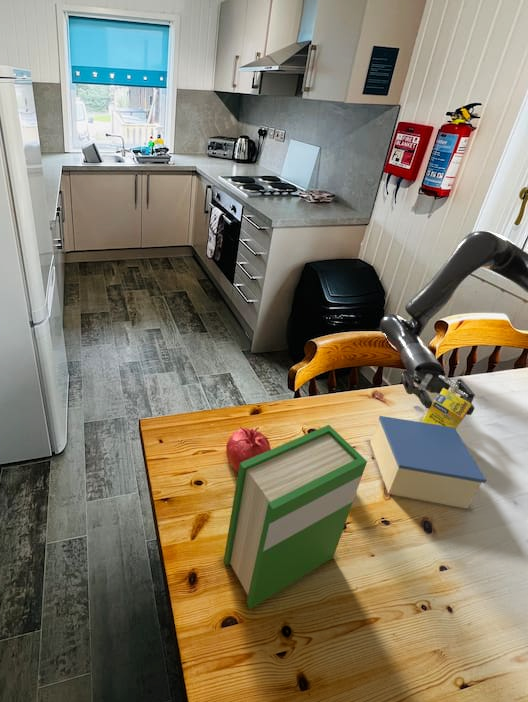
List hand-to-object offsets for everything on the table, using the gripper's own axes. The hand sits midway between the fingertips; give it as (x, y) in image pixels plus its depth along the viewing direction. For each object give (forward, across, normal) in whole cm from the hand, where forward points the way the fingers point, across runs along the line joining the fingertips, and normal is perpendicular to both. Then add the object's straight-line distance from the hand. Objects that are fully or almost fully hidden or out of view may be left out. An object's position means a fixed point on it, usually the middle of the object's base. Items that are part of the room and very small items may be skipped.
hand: (450, 408), depth 89 cm
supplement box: (-2, 0, +9) cm, 9 cm away
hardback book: (+34, -39, +10) cm, 53 cm away
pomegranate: (+16, -44, +10) cm, 48 cm away
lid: (+11, -9, +2) cm, 14 cm away
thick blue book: (+11, -9, +10) cm, 17 cm away
